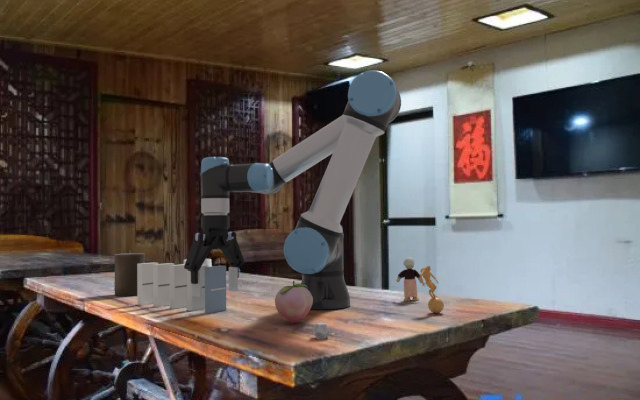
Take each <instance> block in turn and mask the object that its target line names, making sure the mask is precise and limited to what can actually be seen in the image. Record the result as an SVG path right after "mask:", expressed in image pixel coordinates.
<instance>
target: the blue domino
mask: <svg viewBox="0 0 640 400" xmlns="http://www.w3.org/2000/svg"><path fill="white" fill-rule="evenodd" d="M223 311H227V265H212V267H205V309H204V313H206V314H213V313H218V312H223Z"/></svg>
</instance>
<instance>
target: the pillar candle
mask: <svg viewBox="0 0 640 400" xmlns="http://www.w3.org/2000/svg"><path fill="white" fill-rule="evenodd" d="M128 251H129V253H127V252H126V253H124V252H123V253H115V254H114V281H113V282H114V287H113V288H114V296H116V297H117V296H118V297H133V296H137V264H141V263H146V262H145V261H146V257H145V255H146V254H145V253H144V252H139V253H138V252H137V253H136V252H131V249H129V250H128Z"/></svg>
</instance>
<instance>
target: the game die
mask: <svg viewBox="0 0 640 400" xmlns="http://www.w3.org/2000/svg"><path fill="white" fill-rule="evenodd" d="M311 330H312V332H313V334H314V336H315V338H316V339H317V340H326V339H327V338H328V337H329V336H330V334H331V331H330V328H329V327H328V325H327V323H326V322H317V323H315V324H314V325H313V327H312V329H311Z"/></svg>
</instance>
